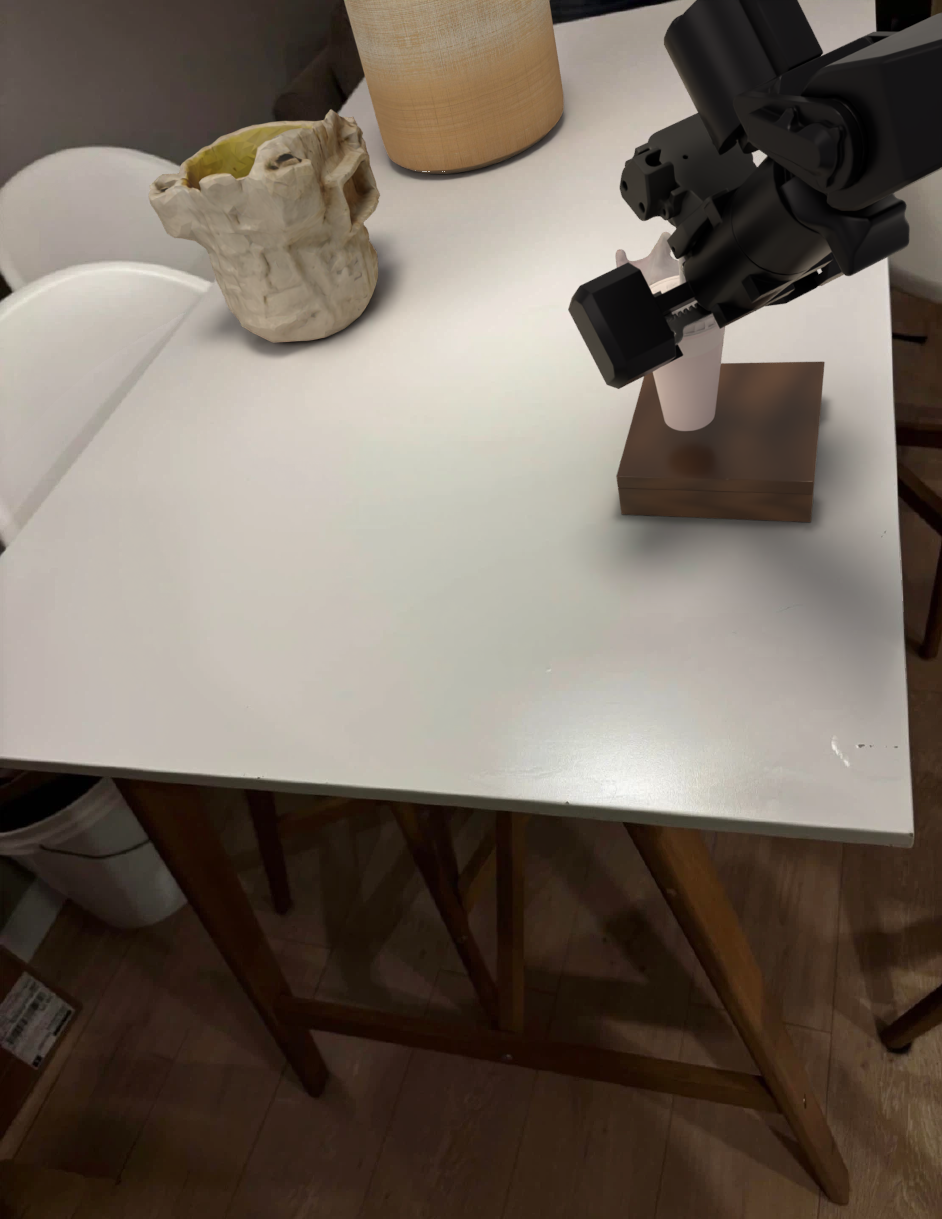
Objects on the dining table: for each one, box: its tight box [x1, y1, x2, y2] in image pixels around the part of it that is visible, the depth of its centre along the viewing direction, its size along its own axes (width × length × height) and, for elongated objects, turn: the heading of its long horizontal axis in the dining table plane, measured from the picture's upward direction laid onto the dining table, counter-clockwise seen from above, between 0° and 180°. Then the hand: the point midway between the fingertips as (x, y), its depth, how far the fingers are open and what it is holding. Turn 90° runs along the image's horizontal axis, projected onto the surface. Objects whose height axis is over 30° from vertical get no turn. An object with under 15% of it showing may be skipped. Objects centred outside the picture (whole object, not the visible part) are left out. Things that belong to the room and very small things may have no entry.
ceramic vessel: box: [148, 109, 381, 344], centre depth 96 cm, size 23×24×25 cm
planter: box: [343, 0, 565, 175], centre depth 116 cm, size 25×25×22 cm
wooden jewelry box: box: [615, 361, 826, 523], centre depth 70 cm, size 14×14×4 cm
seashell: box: [615, 231, 679, 286], centre depth 81 cm, size 10×12×9 cm
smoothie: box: [649, 257, 726, 431], centre depth 61 cm, size 6×6×14 cm
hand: (672, 324), depth 62 cm, fingers closed on smoothie, 6 cm apart
